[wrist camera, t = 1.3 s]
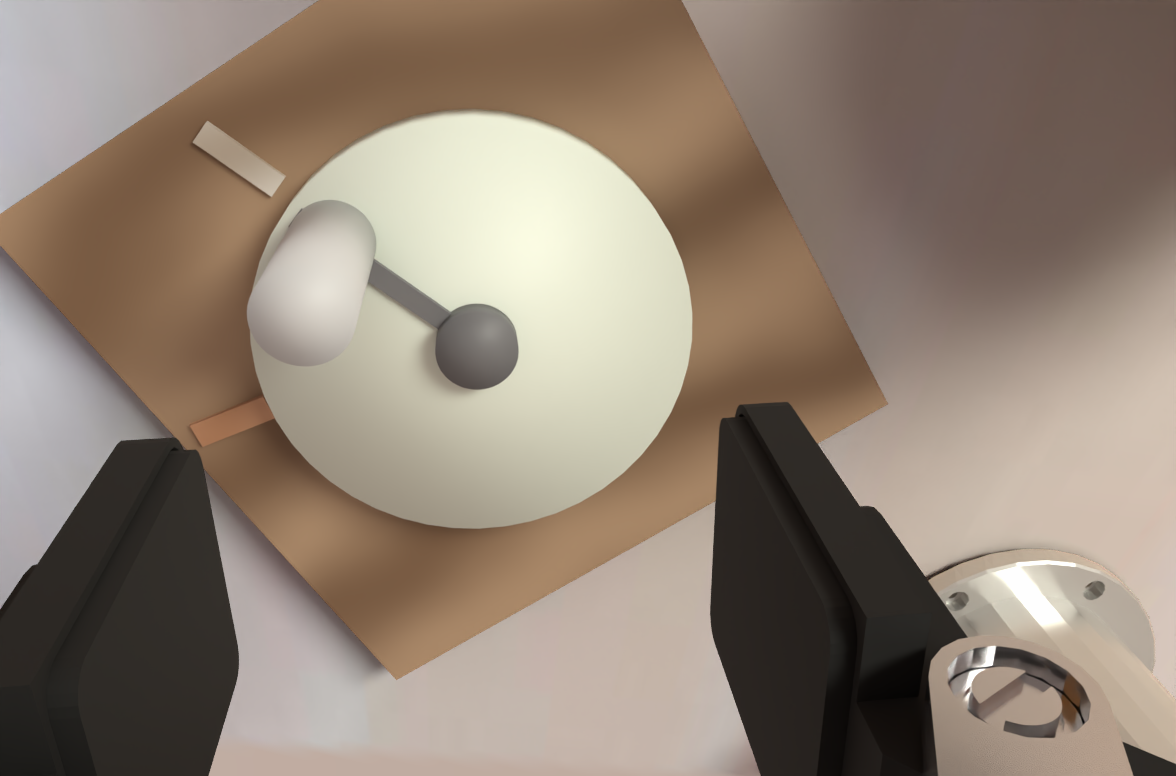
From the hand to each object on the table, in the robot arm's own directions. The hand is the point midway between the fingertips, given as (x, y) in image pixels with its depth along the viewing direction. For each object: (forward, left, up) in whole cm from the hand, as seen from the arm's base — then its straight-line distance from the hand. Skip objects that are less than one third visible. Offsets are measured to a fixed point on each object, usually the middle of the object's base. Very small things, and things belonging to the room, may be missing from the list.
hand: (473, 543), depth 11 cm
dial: (-4, +3, -20) cm, 21 cm away
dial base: (-4, +3, -22) cm, 22 cm away
